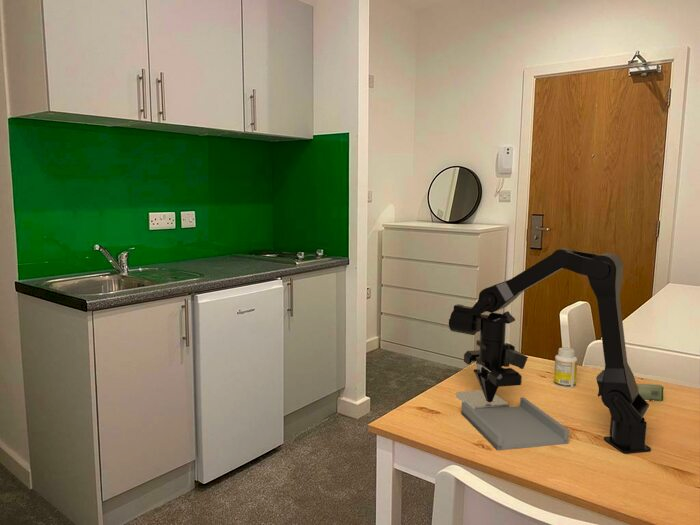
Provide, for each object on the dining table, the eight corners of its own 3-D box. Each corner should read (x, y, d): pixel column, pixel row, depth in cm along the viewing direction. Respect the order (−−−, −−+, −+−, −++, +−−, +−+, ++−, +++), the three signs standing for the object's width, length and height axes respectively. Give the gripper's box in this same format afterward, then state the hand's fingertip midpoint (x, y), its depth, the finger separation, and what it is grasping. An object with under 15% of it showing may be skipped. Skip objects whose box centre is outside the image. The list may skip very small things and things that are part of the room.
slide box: (568, 443, 112) (569, 430, 111) (497, 450, 109) (497, 436, 108) (523, 409, 129) (524, 397, 129) (461, 414, 126) (461, 402, 126)
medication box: (658, 399, 138) (659, 384, 137) (663, 402, 135) (664, 387, 135) (609, 396, 139) (610, 381, 138) (614, 399, 136) (615, 383, 136)
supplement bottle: (566, 381, 149) (569, 345, 148) (580, 388, 144) (582, 351, 143) (549, 383, 148) (551, 347, 147) (561, 390, 142) (564, 352, 141)
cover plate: (508, 411, 129) (509, 403, 129) (474, 415, 127) (474, 407, 127) (488, 396, 139) (488, 389, 139) (456, 399, 137) (456, 392, 136)
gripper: (545, 348, 120) (540, 414, 122) (504, 327, 138) (501, 386, 140) (499, 350, 118) (495, 418, 120) (464, 329, 136) (461, 388, 138)
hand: (489, 401), depth 129 cm, fingers closed
